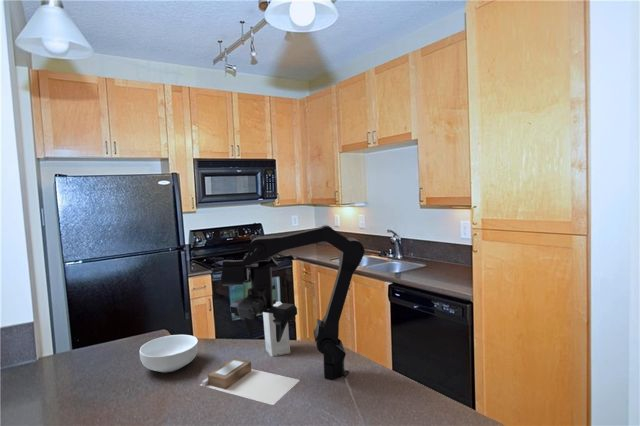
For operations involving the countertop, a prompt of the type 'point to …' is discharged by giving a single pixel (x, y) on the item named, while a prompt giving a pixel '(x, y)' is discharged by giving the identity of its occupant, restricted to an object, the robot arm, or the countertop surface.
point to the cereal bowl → (169, 352)
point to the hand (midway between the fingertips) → (264, 339)
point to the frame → (229, 373)
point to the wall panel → (259, 386)
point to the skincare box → (270, 336)
